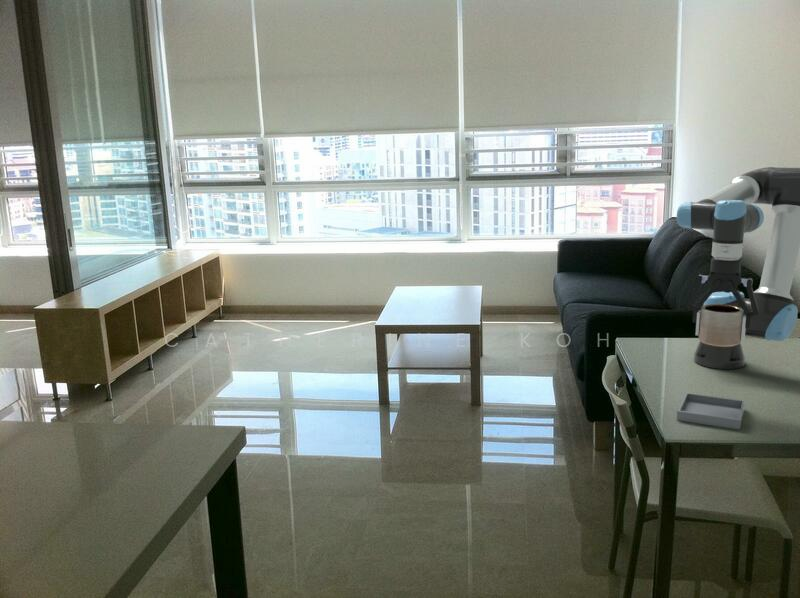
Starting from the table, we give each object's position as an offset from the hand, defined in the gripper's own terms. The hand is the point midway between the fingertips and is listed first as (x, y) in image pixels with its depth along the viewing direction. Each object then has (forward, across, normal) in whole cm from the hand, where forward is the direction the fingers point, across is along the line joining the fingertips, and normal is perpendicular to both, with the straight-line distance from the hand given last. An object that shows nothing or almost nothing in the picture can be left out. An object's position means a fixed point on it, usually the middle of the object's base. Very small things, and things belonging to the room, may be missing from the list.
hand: (719, 336), depth 204 cm
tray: (+19, 0, -11) cm, 22 cm away
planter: (+2, 0, 0) cm, 2 cm away
